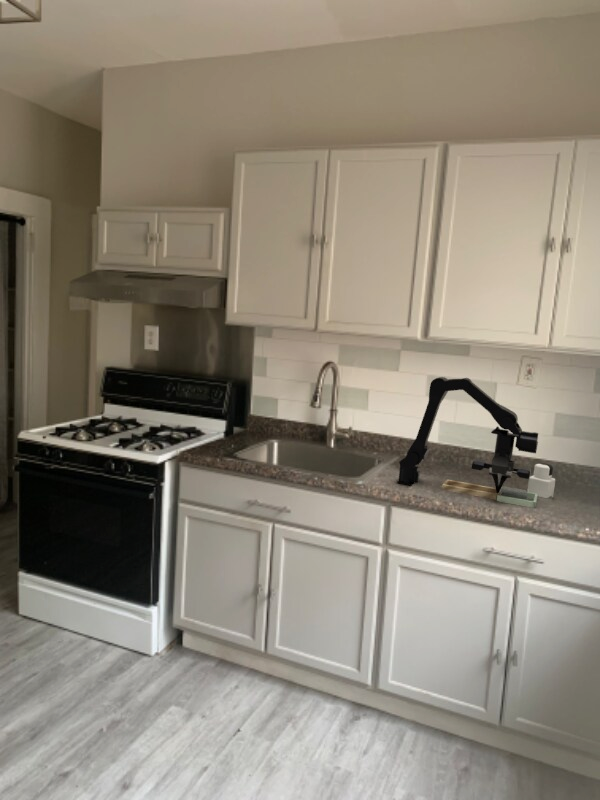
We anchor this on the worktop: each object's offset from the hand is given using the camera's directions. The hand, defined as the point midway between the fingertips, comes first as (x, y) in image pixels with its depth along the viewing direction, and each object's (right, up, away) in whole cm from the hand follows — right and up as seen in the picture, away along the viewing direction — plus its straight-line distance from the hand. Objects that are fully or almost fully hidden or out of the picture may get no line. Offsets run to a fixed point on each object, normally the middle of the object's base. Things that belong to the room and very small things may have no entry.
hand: (497, 493), depth 214 cm
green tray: (+6, -3, -2) cm, 7 cm away
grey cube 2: (+3, -2, -1) cm, 4 cm away
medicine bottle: (+17, -3, +8) cm, 19 cm away
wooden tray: (-8, -1, +4) cm, 9 cm away
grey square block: (+7, -3, -2) cm, 8 cm away
